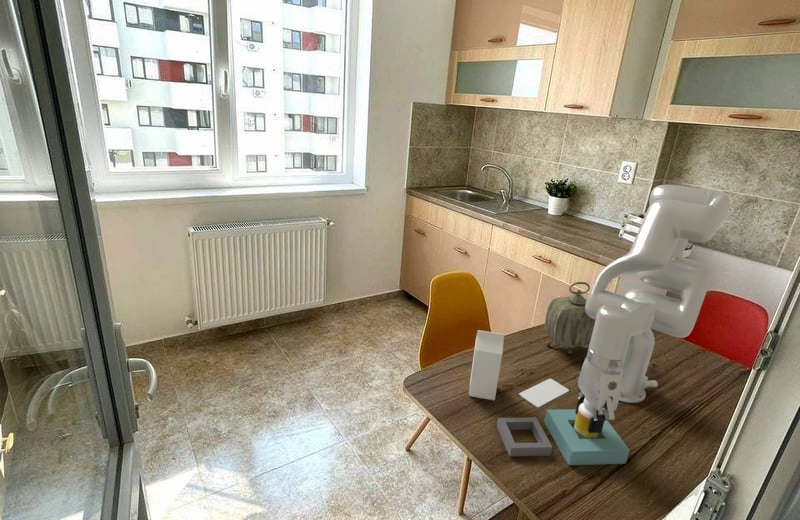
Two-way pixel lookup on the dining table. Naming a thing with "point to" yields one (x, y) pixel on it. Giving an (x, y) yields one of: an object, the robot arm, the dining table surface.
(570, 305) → the tabletop clock
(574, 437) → the socket block
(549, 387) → the smartphone
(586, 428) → the supplement bottle
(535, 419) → the grey picture frame
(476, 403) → the dining table surface
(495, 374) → the milk carton
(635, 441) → the dining table surface
